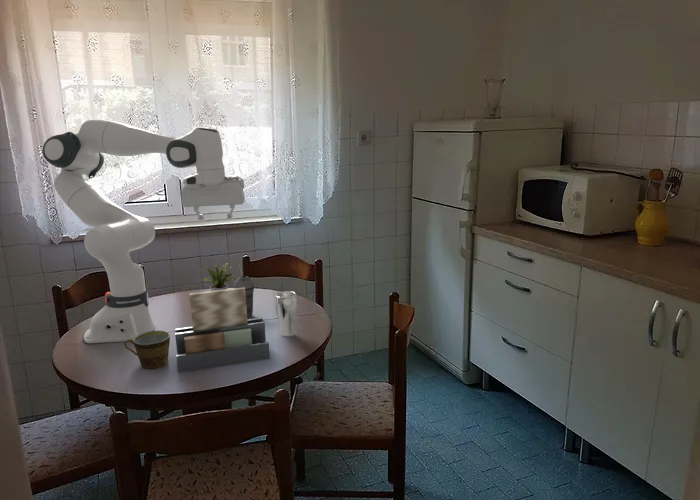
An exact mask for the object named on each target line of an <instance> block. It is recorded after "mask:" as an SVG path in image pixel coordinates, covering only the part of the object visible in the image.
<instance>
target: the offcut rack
mask: <svg viewBox="0 0 700 500" xmlns="http://www.w3.org/2000/svg"><path fill="white" fill-rule="evenodd" d="M247 322H248V324H241V325H234V326H226V327H219V328H211V329H203V330H196V331H193V326H187V327H178V328H175V333H174V335H175V336H174V337H175V345H176V363H177V373H185V372H186V373H187V372H193V371H197V370H198V371H200V370H205V369H212V368H219V367H225V366H231V365H233V366H234V365H237V364H244V363H252V362H258V361H264V360H271V359H270V343H269V341H266V339H267V338H266V322H265V321H264V318H263V317H257V318H248V319H247ZM248 328H250V329H251V337H252V344H250V345H243V346H236V347H229V348H222V349H215V350H208V351H201V352H194V353H187V354H186V351H185V341H184V337H189V336H197V335H204V334H212V333H219V332H226V331H233V330H241V329H248Z"/></svg>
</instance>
